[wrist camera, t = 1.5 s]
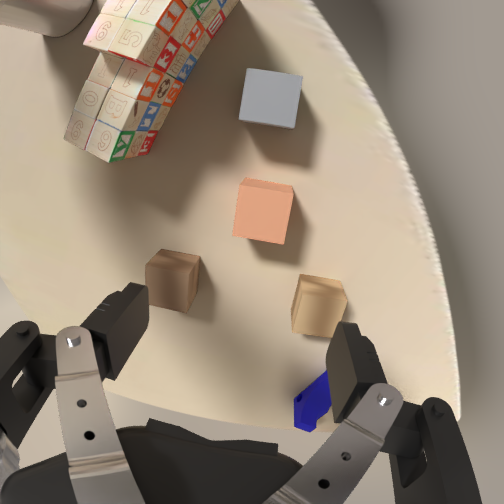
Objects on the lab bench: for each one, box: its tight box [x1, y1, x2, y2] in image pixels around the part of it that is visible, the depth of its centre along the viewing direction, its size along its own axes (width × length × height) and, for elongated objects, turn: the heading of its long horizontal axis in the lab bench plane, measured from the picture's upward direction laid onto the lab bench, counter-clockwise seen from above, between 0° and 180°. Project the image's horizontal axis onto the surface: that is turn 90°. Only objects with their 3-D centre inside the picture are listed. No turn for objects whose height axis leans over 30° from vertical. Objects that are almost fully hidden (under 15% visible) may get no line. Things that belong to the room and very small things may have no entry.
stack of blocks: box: [64, 0, 239, 163], centre depth 22 cm, size 21×6×12 cm, turn 151°
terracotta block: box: [232, 178, 293, 245], centre depth 30 cm, size 5×5×5 cm
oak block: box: [291, 274, 348, 338], centre depth 34 cm, size 5×5×5 cm
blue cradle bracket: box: [294, 370, 332, 432], centre depth 39 cm, size 12×4×6 cm, turn 147°
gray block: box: [239, 68, 303, 130], centre depth 26 cm, size 5×5×5 cm
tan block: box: [145, 249, 200, 313], centre depth 34 cm, size 5×5×5 cm
